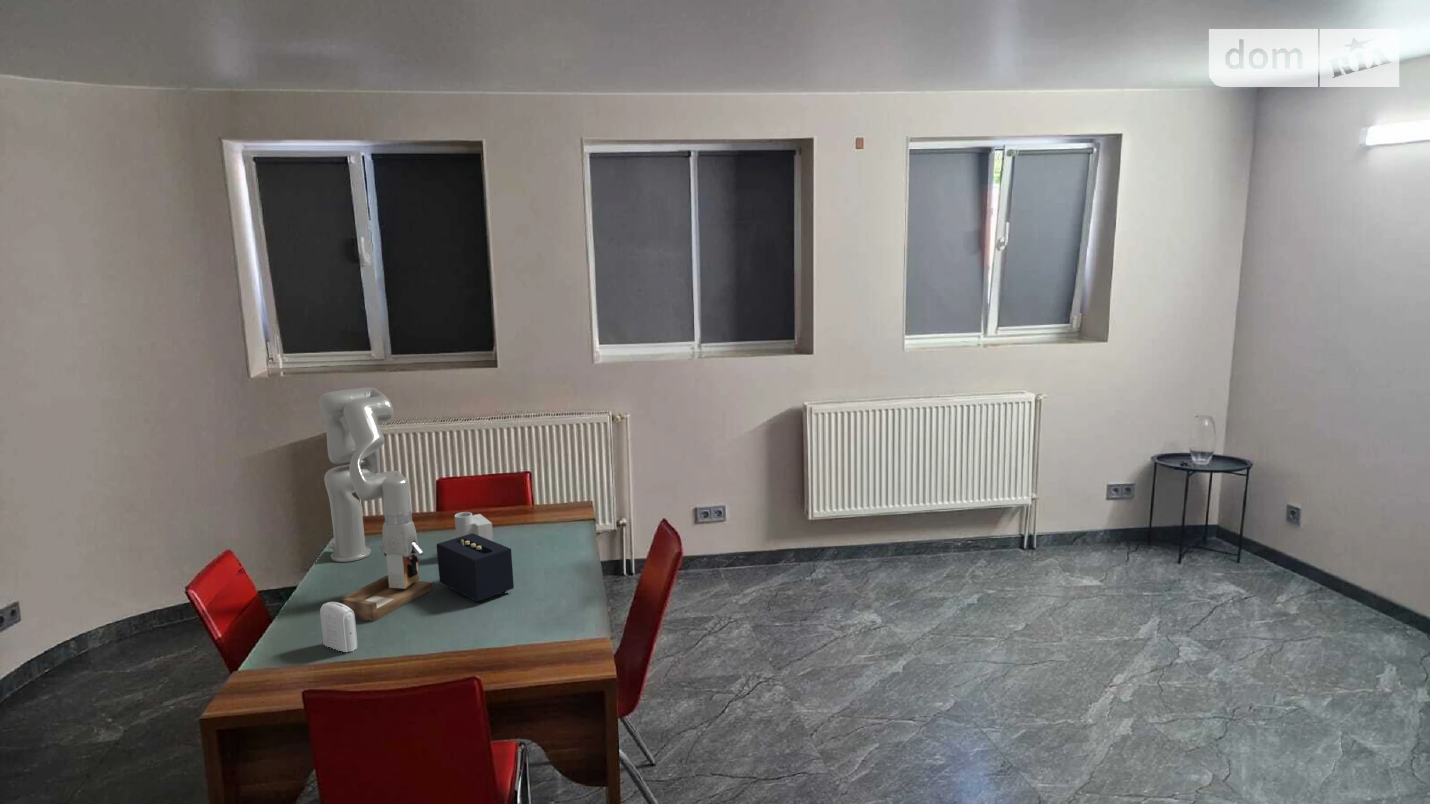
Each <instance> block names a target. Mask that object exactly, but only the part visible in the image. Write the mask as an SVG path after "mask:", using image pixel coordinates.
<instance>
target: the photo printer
mask: <svg viewBox="0 0 1430 804" xmlns="http://www.w3.org/2000/svg"><path fill="white" fill-rule="evenodd" d="M319 616H320V617H319V618H320V625H321V634H322V644H323V646H324V645H325V646H324V647H326V646H327V647H326V648H328V647H331V648H333V649H332V650H334V649H336V650H335V651H337V650H338V651H337V652H339V651H343V652H348V651H353V652H355V651H356V650H357V649H358V636H357V635H358V634H357V627H356V625H357V623H356V618H355V614H354V612H353V611H352V610H351V609H350V608H349V607H347V606H346V605H344V604H341V603H340V602H336V601H328V602H325V603H323V604H322V605H321V607H320V609H319ZM331 648H330V649H331ZM355 649H356V650H355ZM354 650H355V651H354Z"/></svg>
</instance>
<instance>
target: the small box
mask: <svg viewBox="0 0 1430 804" xmlns="http://www.w3.org/2000/svg"><path fill="white" fill-rule="evenodd" d="M415 554H416V553H415ZM410 557H411V560H412V559H413V558H412V556H410ZM385 558H386V566H387V567H386V568H387V575H388V581H389V588H401V589H406V588H407V587H408V586H410V585H411V584H413V583H414V582H416V581H417V580H419V581H420V573H419V561H418V562H416V565H417V575H415V576H413V577H411V578H409V577H408V569H407V565H409V564H408V561H407V557H404V556H403V555H397V554H388V555H386V556H385Z"/></svg>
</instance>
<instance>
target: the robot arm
mask: <svg viewBox="0 0 1430 804" xmlns="http://www.w3.org/2000/svg"><path fill="white" fill-rule="evenodd" d="M318 401H319V402H318V407H319V411H320V414H321V416H322V418H323V420H324V422H325V430H326V444H327V446H326V447H327V456H328V459H329V461H330V462H331V463H332V464H335V465H340V464H341V465H340V466H336V467H333V468H330V469H329V470H328V471H326V472H325V474H324V478H323V479H324V485H325V489H326V492H327V496H328V500H329V507H330V514H331V515H330V516H331V521H332V523H331V525H332V531H333V540H332V541H331V542H330V543H329V544H328V549H333V552H332V553H331V554H330V557H331V561H333V562H338V563H348V562H354V561H359V560H362V559H364V558H367V557H369V556H370V555H371V554H372V549H371V548H370V547H368V546H366V538H365V529H364V518H363V509H362V508H363V507H362V504H361V502H360V500H361V501H364V502H369V501H374V500H378V499H382V501H383V511H384V513H383V514H382V515H383V517H384V522H383V523H382V524H383V525H382V533H381V534H382V536H381V538H382V540H381V541H382V544H381V546H380V547H379V549H380V550H381V552H382V553H383V555H384V556H385V557H386V555H388V554H397V555H403V556H404V557H407V561H408V564H409V565H407V569H408V577H409V578H411V577H413V576H415V575H417V565H416V562H418V563H419V560H420V559H421V557H423V555H424V552H423V550H422V548H420V547H419V543H418V534H417V530H416V527H415V522H414V521H413V515H412V503H411V495H410V491H411V490H410V483H409V479H408V478H407V477H405V476H404V475H403V474H402V473H401V472H400V471H398V470H388V471H384V472H381V459H380V458H381V457H380V456H381V455H380V448H382V447H383V445H384V443H385V437H384V434H383V432H382V431H381V427H380V425H379V424H380V423H387V422H390V421H391V420H392V419H393V418H394V408H393V404H392V402H391V401H390V399H389V398H388V397H387V395H385V394H384V393H383V392H381V391H379V390H378V389H376V388H375V387H370V386H369V387H367V386H366V387H359V388H358V387H357V388H350V389H342V390H335V391H329V392H326V393H323V394H322V395H320V397H319V400H318ZM348 463H349V464H348ZM342 464H343V465H342ZM353 493H355V494H356V496H357V498H356V497H355V496H354V495H353ZM358 498H359V499H360V500H359V499H358ZM415 553H416V554H415ZM410 556H412V558H413V559H412V560H411V557H410Z"/></svg>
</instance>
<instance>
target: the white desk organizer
mask: <svg viewBox="0 0 1430 804" xmlns="http://www.w3.org/2000/svg"><path fill="white" fill-rule="evenodd" d="M454 524H455V526H454V528H455V538H458V537H461V536H465V535H468V534H472V533H474V534H476V535H479V536H481V537H483V538H486V539H488V540H491V541H493V542H494V533H493V523H492V522H491V521H490V520H488V518H486V517H485V516H483V515H482V514H481V513H477V514H473V513H472V512H470V511H463V512H462V511H461V512H457V513H455V515H454Z"/></svg>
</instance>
